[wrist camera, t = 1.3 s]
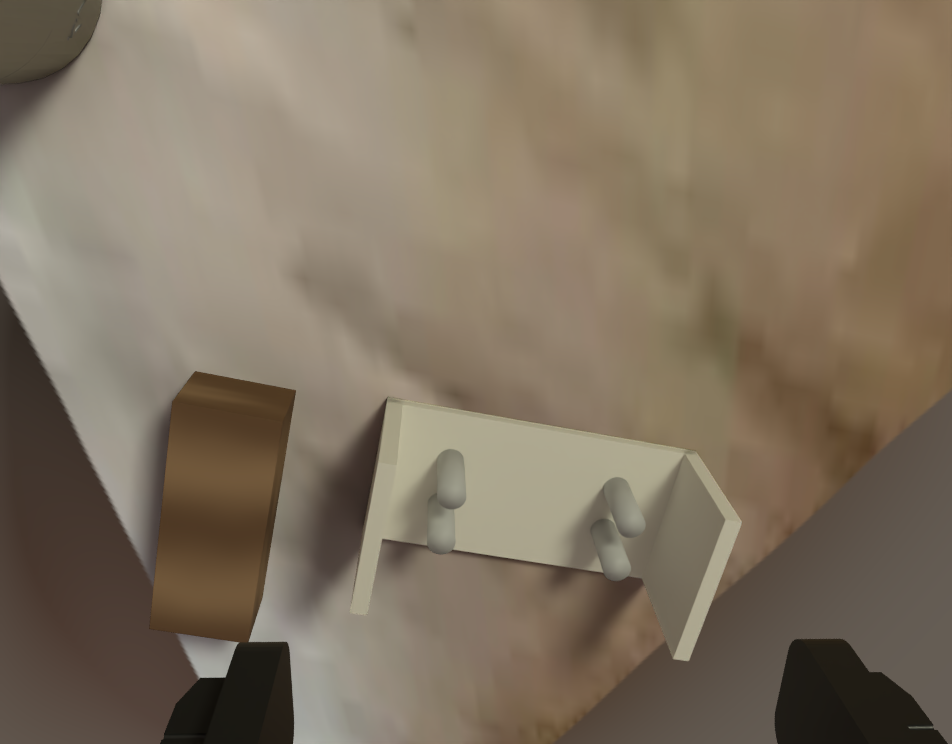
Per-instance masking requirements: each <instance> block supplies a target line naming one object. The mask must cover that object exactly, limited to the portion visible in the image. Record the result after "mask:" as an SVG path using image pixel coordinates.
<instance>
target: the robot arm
mask: <svg viewBox="0 0 952 744" xmlns="http://www.w3.org/2000/svg"><path fill="white" fill-rule="evenodd" d="M101 4H102V0H0V84H12V83H23V82H28V81H32V80H37V79H41V78H44V77H46V76H48V75H50V74H52V73H54V72H56V71H58V70H60V69H62V68H64V67H65V66H66V65H67V64H68V63H69V62H71V61H72V60H73V59H74V58H75V57H76V56H77V55H79V53H80V52H81V51H82V49H83V48H84V46H85V45H86V43H87V42H88V40H89V39H90V38H91V36H92V34H93V31H94V28H95V26H96V23H97V21H98V18H99V15H100V11H101ZM775 731H776V738H777V743H778V744H948V743H947V742H946V741H945V740H944V738H943V737H942V736H941V734H940V733H939V732H938V730H934V728H933V724H932V722H931V721H930V720H929V718H928V717H927V716H926V714H925V713H924V712H923V711H922V709H921V708H920V706H919V705H918V704H917V702H916V701H915V700H914V698H913V697H912V696H911V695H910V694H908V693H907V692H906V691H904V690H903V689H902V688H901V687H899V686H898V685H897V684H896V683H894V682H893V681H892V680H890V679H889V678H888V677H887V676H885V675H884V674H883V673H881V672H869V671H868V670H867V668H866V667H865V666H864V664H863V663H862V661H861V660H860V658H859V657H858V656H857V654H856V653H855V651H854V650H853V649H852V647H851V646H850V645H849V644H848V643H847V642H846V641H845V640H843V639H796V640H794V641H793V642H792V643H791V645H790V647H789V650H788V655H787V659H786V664H785V669H784V673H783V678H782V683H781V688H780V692H779V697H778V702H777V706H776V711H775ZM293 737H294V711H293V696H292V681H291V666H290V652H289V646H288V643H287V642H240V643H238V645H237V646H236V649H235V651H234V654H233V657H232V660H231V663H230V666H229V669H228V672H227V675H226V678H200V679H199V680H198V681H197V682H196V683H195V684H194V685H193V686H192V688H191V689H190V690H189V691H188V692H187V693H186V694H185V695H184V696H183V697H182V698H181V699H180V700H179V701H178V702H177V703H176V705H175V708H174V711H173V713H172V716H171V718H170V720H169V723H168V725H167V728H166V730H165V733H164V739H163V740H161V743H160V744H293Z"/></svg>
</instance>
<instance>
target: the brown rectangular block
mask: <svg viewBox="0 0 952 744" xmlns="http://www.w3.org/2000/svg"><path fill="white" fill-rule="evenodd" d="M295 393H296V390H291V389H286V388H281V387H276V386H270V385H265V384H260V383H254V382H249V381H244V380H239V379H233V378H228V377H223V376H218V375H212V374H207V373H202V372H197V371H195V372H194V374H193V375H192V376H191V378H190V379H189V380H188V382H187V383H186V384H185V386H184V387H183V388H182V390H181V391H180V392H179V394H178V395H177V396H176V397H175V399H174V400H173V401H172V410H171V420H170V430H169V440H168V450H167V460H166V469H165V479H164V489H163V499H162V509H161V519H160V528H159V538H158V548H157V558H156V568H155V577H154V587H153V597H152V607H151V618H150V627H149V629H153V630H160V631H167V632H173V633H180V634H187V635H194V636H200V637H207V638H214V639H221V640H227V641H234V642H249V638H250V635H251V632H252V629H253V626H254V623H255V620H256V616H257V613H258V610H259V607H260V604H261V601H262V597H263V590H264V584H265V578H266V572H267V566H268V560H269V553H270V547H271V541H272V535H273V529H274V523H275V516H276V510H277V504H278V498H279V492H280V486H281V480H282V473H283V467H284V461H285V455H286V449H287V443H288V436H289V430H290V424H291V418H292V412H293V406H294V399H295Z"/></svg>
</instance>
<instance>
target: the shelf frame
mask: <svg viewBox="0 0 952 744" xmlns="http://www.w3.org/2000/svg"><path fill="white" fill-rule="evenodd" d="M741 524H742V521H741V520H740V518H739V517H738V515H737V514H736V512H735V511H734V509H733V508H732V506H731V505H730V503H729V501H728V500H727V498H726V497H725V495H724V494H723V492H722V491H721V489H720V488H719V486H718V485H717V483H716V481H715V480H714V478H713V477H712V475H711V474H710V472H709V471H708V469H707V468H706V466H705V465H704V463H703V462H702V460H701V458H700V457H699V455H698V454H697V452H696V451H693V450H687V449H682V448H676V447H670V446H665V445H659V444H653V443H647V442H642V441H636V440H630V439H625V438H619V437H613V436H607V435H602V434H596V433H590V432H585V431H579V430H573V429H567V428H562V427H556V426H550V425H545V424H539V423H533V422H528V421H522V420H516V419H510V418H505V417H499V416H493V415H488V414H482V413H476V412H470V411H465V410H459V409H453V408H448V407H442V406H436V405H430V404H425V403H419V402H413V401H408V400H402V399H396V398H390V397H388V398H387V403H386V408H385V414H384V419H383V424H382V430H381V435H380V440H379V446H378V451H377V456H376V462H375V467H374V472H373V478H372V483H371V488H370V494H369V499H368V504H367V510H366V515H365V520H364V526H363V531H362V538H361V544H360V551H359V557H358V563H357V570H356V576H355V583H354V589H353V596H352V602H351V608H350V613H353V614H360V615H367V613H368V608H369V603H370V598H371V592H372V587H373V582H374V577H375V572H376V567H377V562H378V557H379V552H380V547H381V542H382V539H388V540H394V541H401V542H407V543H414V544H420V545H427V546H428V548H429V549H430V550H431V551H432V552H433V553H436V554H446V553H449V552H450V551H452V550H459V551H466V552H472V553H479V554H485V555H492V556H498V557H505V558H511V559H518V560H524V561H531V562H537V563H544V564H550V565H557V566H563V567H570V568H576V569H583V570H589V571H596V572H602V573H604V575H605V577H606V578H607V579H609V580H612V581H620V580H623V579H625V578H626V577H627V576H628V577H635V578H641V579H642V580H643V583H644V586H645V588H646V591H647V593H648V596H649V598H650V601H651V603H652V606H653V609H654V611H655V614H656V616H657V619H658V621H659V624H660V626H661V629H662V632H663V634H664V637H665V639H666V642H667V644H668V647H669V649H670V652H671V655H672V657H673V659H678V660H685V661H689V659H690V656H691V654H692V651H693V648H694V646H695V643H696V641H697V638H698V635H699V633H700V630H701V628H702V625H703V623H704V620H705V617H706V615H707V612H708V610H709V607H710V605H711V602H712V599H713V597H714V594H715V592H716V589H717V586H718V584H719V581H720V579H721V576H722V573H723V571H724V568H725V566H726V563H727V560H728V558H729V555H730V553H731V550H732V548H733V545H734V542H735V540H736V537H737V535H738V532H739V529H740V527H741Z"/></svg>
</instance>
